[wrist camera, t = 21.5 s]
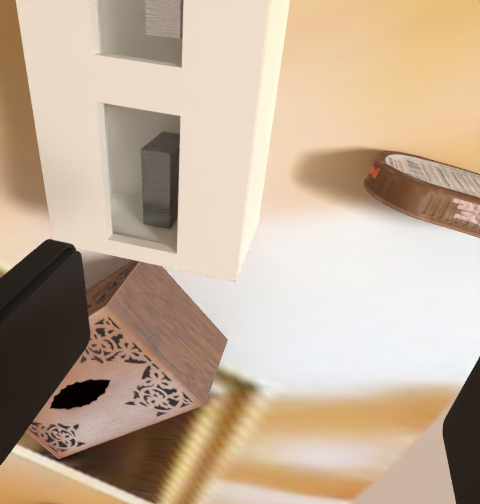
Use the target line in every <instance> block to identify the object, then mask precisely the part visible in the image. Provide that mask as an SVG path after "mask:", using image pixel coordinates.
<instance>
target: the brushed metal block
mask: <svg viewBox="0 0 480 504" xmlns="http://www.w3.org/2000/svg"><path fill="white" fill-rule="evenodd" d="M179 156H180V134H175V133H169V132H162V133H160V134H159V135H158V136H157V137H155V138H154V139H153V140H152V141H150V142H149V143H148V144H146V145H145V146H144V147H143V148H141V171H142V200H143V224H146V225H151V226H156V227H161V228H166V229H170V228H171V227H172V225H173V224H174V223H175V221H176V220H177V219H178V194H179Z"/></svg>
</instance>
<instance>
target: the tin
mask: <svg viewBox="0 0 480 504" xmlns="http://www.w3.org/2000/svg"><path fill="white" fill-rule="evenodd" d="M364 187H365V188H366V190H367V191H368V192H369V193H370V194H371V195H372V196H373V197H375V198H376V199H377V200H379V201H380V202H382V203H383V204H385V205H387V206H389V207H391V208H393V209H395V210H397V211H399V212H401V213H404V214H406V215H408V216H411V217H414V218H417V219H420V220H423V221H427V222H430V223H433V224H436V225H440V226H443V227H446V228H449V229H453V230H456V231H459V232H463V233H466V234H469V235H472V236H476V237H479V238H480V174H478V173H474V172H471V171H468V170H465V169H461V168H458V167H455V166H451V165H448V164H444V163H441V162H437V161H434V160H430V159H427V158H423V157H420V156H416V155H411V154H407V153H402V152H393V151H388V152H382V153H380V154H379V155H378V156H377V157H376V158H375V160H374V162H373V164H372V167H371V169H370V172H369V174H368V177H367V178H366V179H365V180H364Z"/></svg>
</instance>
